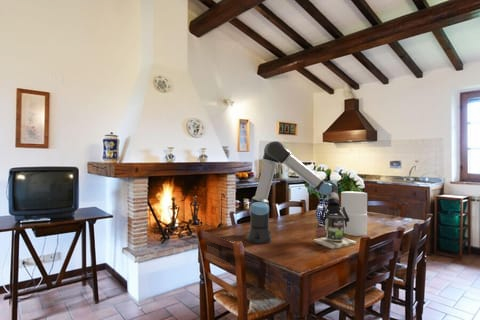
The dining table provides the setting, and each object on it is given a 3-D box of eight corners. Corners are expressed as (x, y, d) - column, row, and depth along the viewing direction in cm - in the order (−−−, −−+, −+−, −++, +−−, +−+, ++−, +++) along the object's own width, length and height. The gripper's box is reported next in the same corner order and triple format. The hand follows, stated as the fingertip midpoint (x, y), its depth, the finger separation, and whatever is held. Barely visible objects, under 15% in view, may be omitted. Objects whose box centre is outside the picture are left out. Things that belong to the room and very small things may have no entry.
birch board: (332, 248, 170) (332, 246, 170) (313, 241, 184) (313, 239, 184) (356, 244, 180) (356, 241, 180) (336, 237, 194) (336, 235, 194)
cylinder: (339, 228, 218) (340, 191, 217) (364, 230, 213) (365, 191, 213) (341, 234, 201) (342, 194, 201) (368, 236, 197) (369, 195, 196)
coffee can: (346, 240, 178) (347, 217, 178) (332, 241, 176) (332, 218, 175) (337, 235, 188) (337, 214, 188) (322, 236, 186) (323, 214, 185)
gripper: (350, 205, 194) (354, 234, 179) (315, 203, 199) (315, 232, 184) (351, 198, 189) (356, 228, 174) (315, 196, 194) (316, 226, 179)
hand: (335, 230), depth 179 cm, fingers open, 10 cm apart
